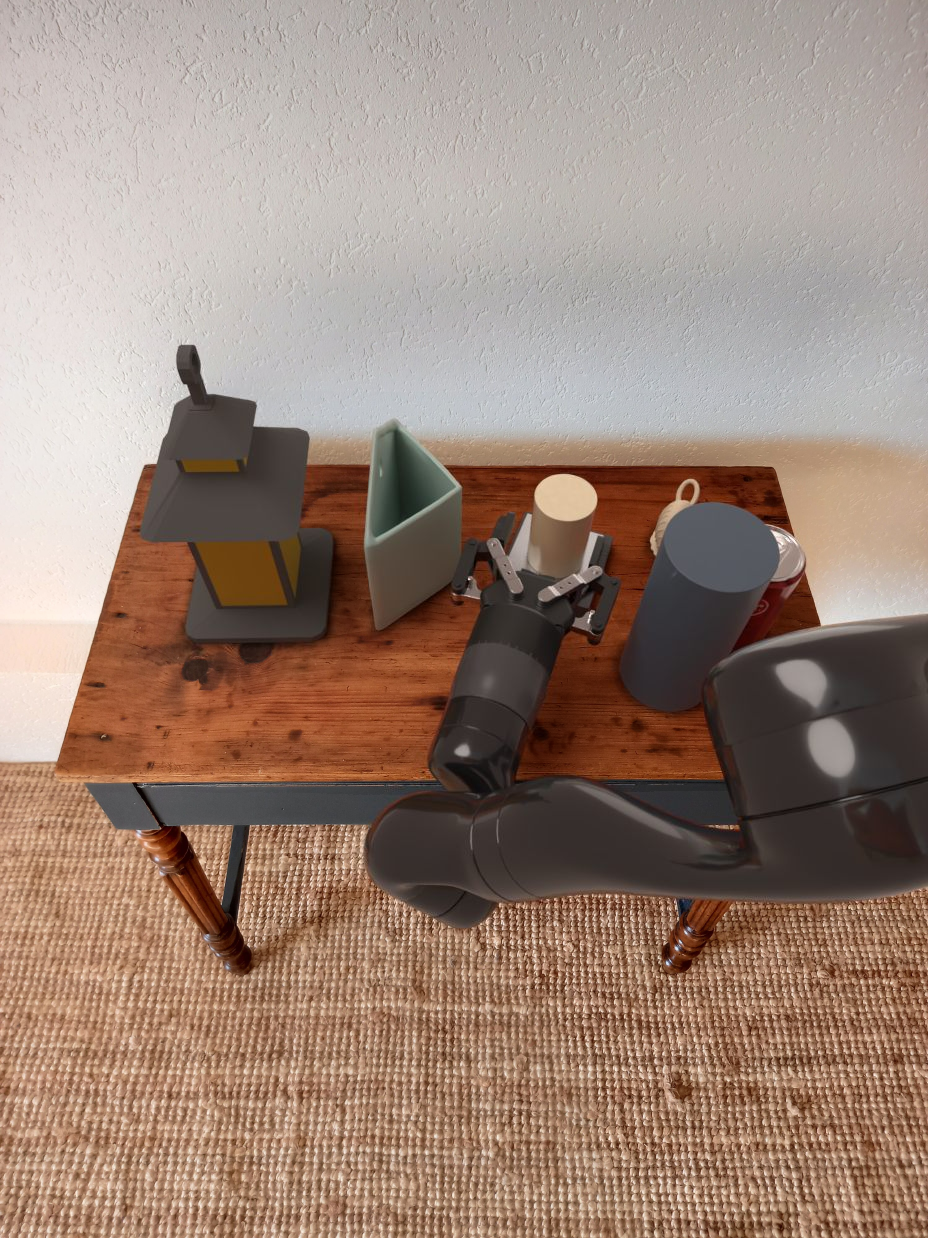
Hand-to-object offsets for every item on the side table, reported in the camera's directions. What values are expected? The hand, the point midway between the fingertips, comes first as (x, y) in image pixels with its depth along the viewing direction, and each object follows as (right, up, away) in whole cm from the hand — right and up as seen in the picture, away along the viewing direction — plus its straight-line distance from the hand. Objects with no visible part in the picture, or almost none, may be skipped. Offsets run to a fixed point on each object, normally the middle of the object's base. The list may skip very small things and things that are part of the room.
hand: (555, 529), depth 75 cm
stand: (+11, -13, +5) cm, 18 cm away
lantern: (-30, -5, +10) cm, 32 cm away
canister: (+1, -2, +9) cm, 9 cm away
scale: (+1, -3, +12) cm, 12 cm away
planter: (-13, -3, +12) cm, 18 cm away
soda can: (+19, -9, +8) cm, 22 cm away
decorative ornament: (+15, 0, +14) cm, 21 cm away
